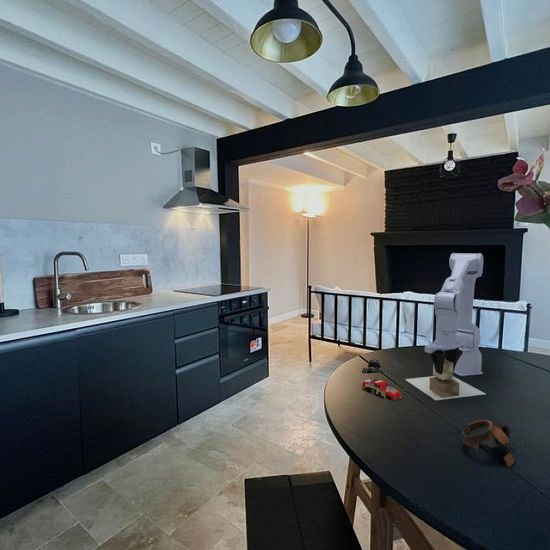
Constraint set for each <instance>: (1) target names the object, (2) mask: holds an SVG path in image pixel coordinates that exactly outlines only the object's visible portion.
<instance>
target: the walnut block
mask: <svg viewBox="0 0 550 550" xmlns="http://www.w3.org/2000/svg"><path fill="white" fill-rule="evenodd" d="M429 377H430V386H429V389H430V390H431V391H433V392H434V393H436V394H437V395H439V396H440V397H442V398H444V397H452V396H459V385H460V383H458V382H456V381H455V380H453V379H446V380H441V379H439V378H437V377H431V376H429Z"/></svg>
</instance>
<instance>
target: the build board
mask: <svg viewBox="0 0 550 550" xmlns="http://www.w3.org/2000/svg"><path fill="white" fill-rule="evenodd" d="M430 377H435V376H433V375H432V376H424V377H414V378H405V380H404V381H407V382H408V383H409V384H411V385H412V386H414V387H415V388H417V389H418V390H420V391H421V392H422V393H424V394H426V395H427V396H429V397H430V398H431V399H433V400H434V401H441V400H442V401H443V400H449V399H450V400H451V399H457V398H466V397H473V396H482V395H486V393H485V392H483V391H481V390H479V388H476V387H474V386H472V385H471V384H468V383H466V381H463V380H461V379H459V378H457V377H456V376H453V378H452V379H453V380H455V381H456V382H458V383H460V385H459V396H452V397H444V398H442V397H440V396H439V395H437V394H436V393H434V392H433V391H431V390H430V389H429V386H430Z"/></svg>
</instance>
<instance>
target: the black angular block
mask: <svg viewBox="0 0 550 550" xmlns="http://www.w3.org/2000/svg"><path fill="white" fill-rule="evenodd" d="M381 367H382V365H381V361H380V360H376V359H375V360H374V359H369V362H368V363H367V368H366V367H362V368H363V370H362V369H361V370H362V373H361V374H365V373H367V374H376V373H384V372H385V370H384V369H381ZM385 373H386V372H385Z"/></svg>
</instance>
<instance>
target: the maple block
mask: <svg viewBox="0 0 550 550" xmlns="http://www.w3.org/2000/svg"><path fill="white" fill-rule="evenodd" d="M432 369H433V370H432V376H435V377H437V378H439V379H441V380H446V379H452V378H453V377H454V372H453V363H452V362H450V361H447V360H446V359H445V361H444V367H443V373H442V374H439V373H436V371H435V367H434V363H433V362H432Z"/></svg>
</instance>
